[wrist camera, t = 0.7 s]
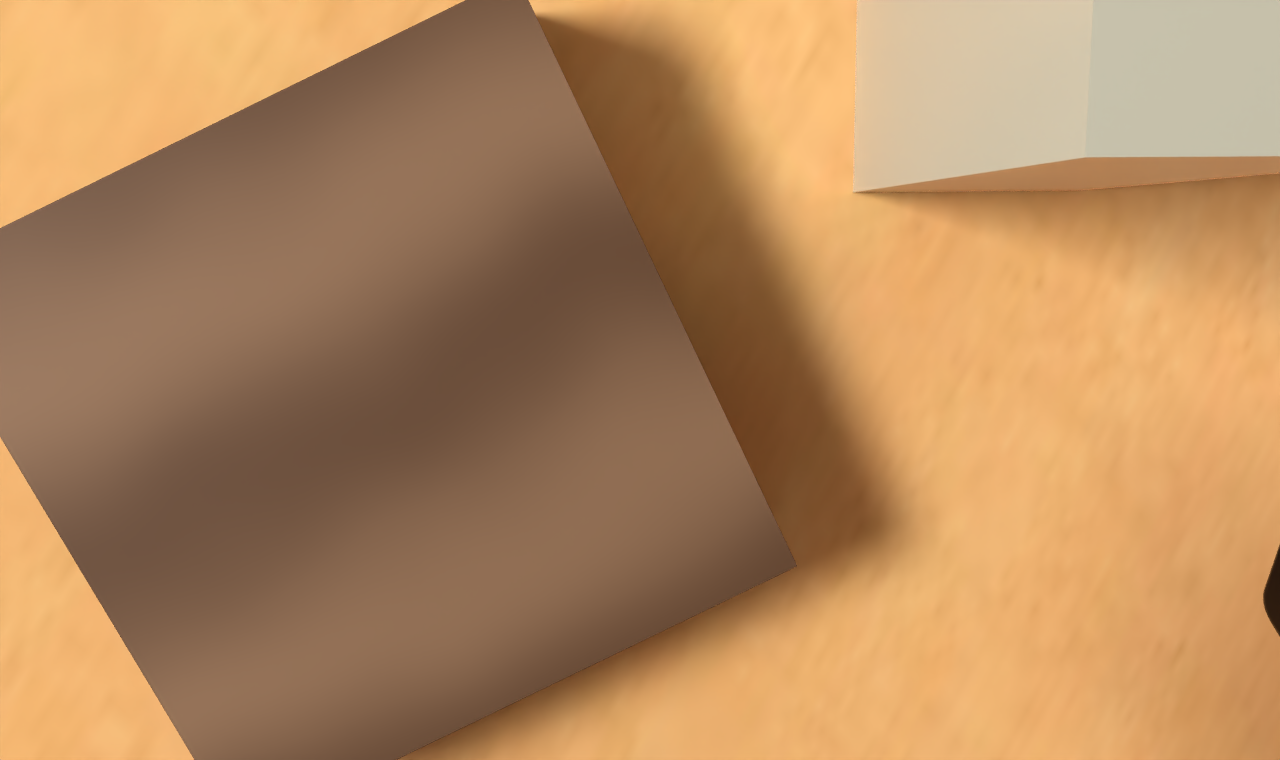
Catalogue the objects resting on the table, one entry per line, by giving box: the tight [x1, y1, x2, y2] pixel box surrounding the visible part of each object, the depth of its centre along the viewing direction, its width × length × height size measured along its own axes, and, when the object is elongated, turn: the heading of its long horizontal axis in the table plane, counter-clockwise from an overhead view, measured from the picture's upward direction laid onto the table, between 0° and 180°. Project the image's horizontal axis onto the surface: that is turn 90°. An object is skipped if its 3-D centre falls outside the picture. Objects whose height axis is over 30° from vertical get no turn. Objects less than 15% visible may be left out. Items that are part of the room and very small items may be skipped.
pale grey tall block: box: [853, 0, 1280, 192], centre depth 17 cm, size 5×5×10 cm
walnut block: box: [0, 0, 797, 760], centre depth 20 cm, size 12×12×4 cm
